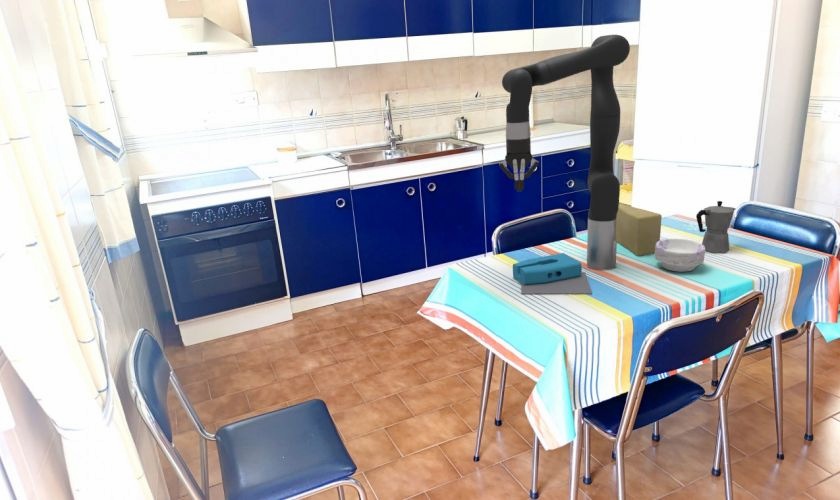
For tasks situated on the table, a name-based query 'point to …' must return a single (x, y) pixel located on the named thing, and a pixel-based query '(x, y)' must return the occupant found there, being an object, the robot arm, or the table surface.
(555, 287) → the mat
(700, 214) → the coffeepot
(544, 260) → the block
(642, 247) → the tan rectangular box
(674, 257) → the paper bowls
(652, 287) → the table surface
